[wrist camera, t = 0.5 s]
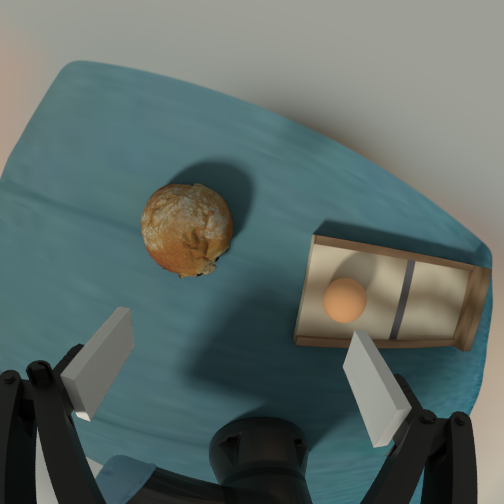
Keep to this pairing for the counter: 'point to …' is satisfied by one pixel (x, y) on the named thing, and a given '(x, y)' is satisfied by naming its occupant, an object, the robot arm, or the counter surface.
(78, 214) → the counter surface
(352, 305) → the ball
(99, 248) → the counter surface
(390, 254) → the lane
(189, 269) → the bread roll
